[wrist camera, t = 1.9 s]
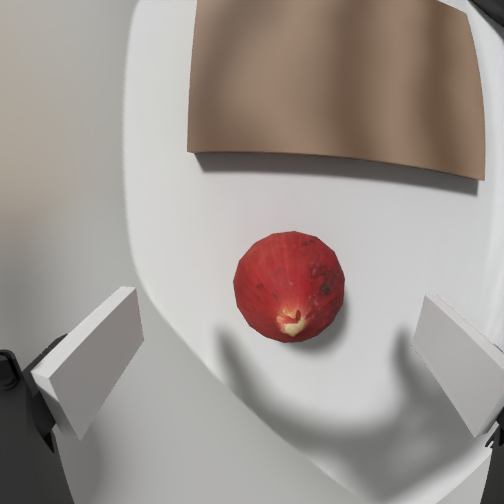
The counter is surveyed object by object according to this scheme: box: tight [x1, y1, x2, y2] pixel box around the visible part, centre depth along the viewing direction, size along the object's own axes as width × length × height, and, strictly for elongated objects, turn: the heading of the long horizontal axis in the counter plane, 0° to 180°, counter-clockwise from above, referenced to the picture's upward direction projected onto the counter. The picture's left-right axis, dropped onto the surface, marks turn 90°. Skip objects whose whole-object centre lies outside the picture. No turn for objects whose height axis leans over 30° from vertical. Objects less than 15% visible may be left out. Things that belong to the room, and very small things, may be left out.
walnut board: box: [187, 0, 485, 181], centre depth 14 cm, size 20×14×2 cm
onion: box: [233, 231, 345, 343], centre depth 15 cm, size 6×6×8 cm
